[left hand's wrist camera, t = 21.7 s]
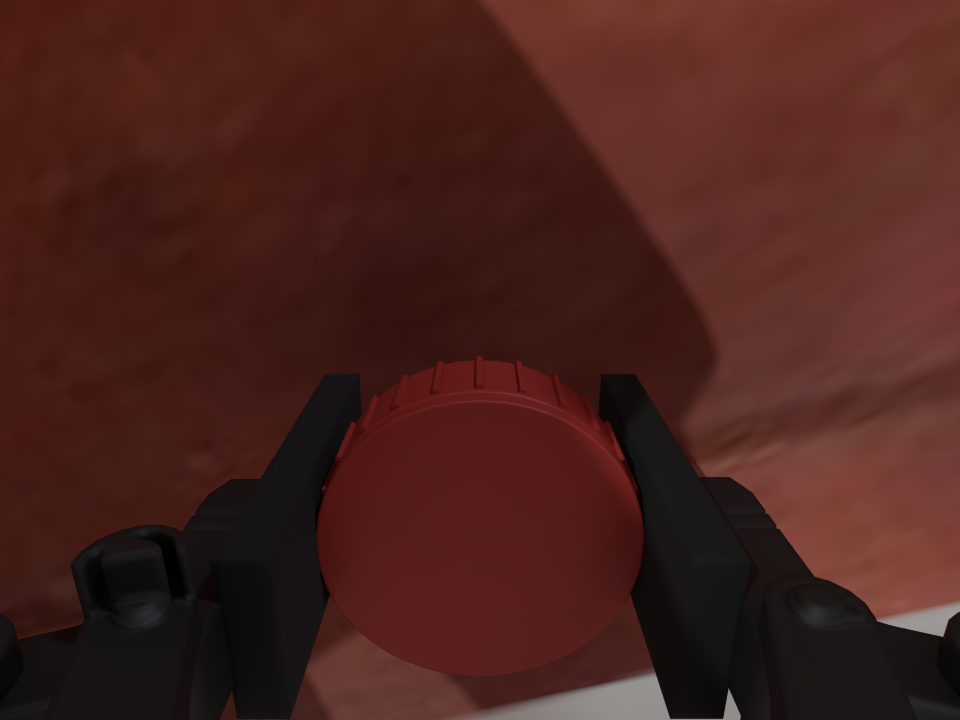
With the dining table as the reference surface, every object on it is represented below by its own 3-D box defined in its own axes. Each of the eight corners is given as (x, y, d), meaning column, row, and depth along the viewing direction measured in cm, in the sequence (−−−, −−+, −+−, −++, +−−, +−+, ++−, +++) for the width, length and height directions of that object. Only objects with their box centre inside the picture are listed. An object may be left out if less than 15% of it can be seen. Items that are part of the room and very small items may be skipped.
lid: (321, 354, 11) (293, 396, 10) (637, 353, 11) (665, 395, 10) (346, 607, 13) (326, 680, 12) (615, 606, 13) (635, 679, 12)
